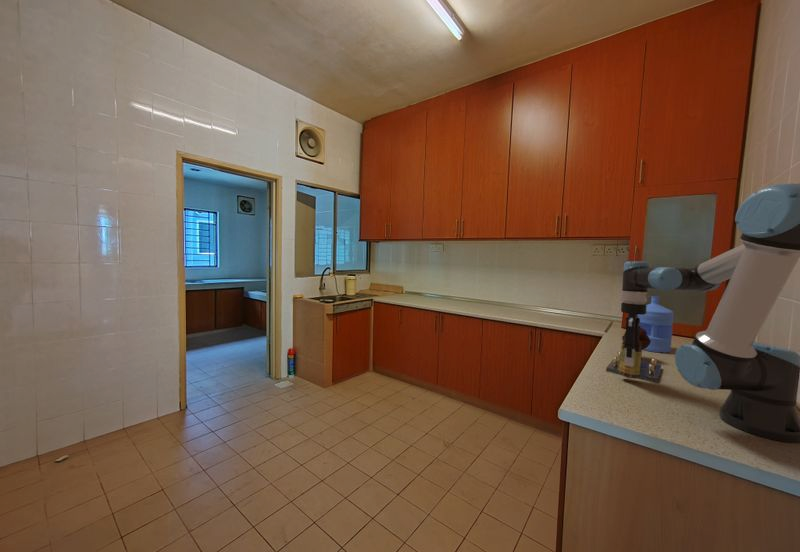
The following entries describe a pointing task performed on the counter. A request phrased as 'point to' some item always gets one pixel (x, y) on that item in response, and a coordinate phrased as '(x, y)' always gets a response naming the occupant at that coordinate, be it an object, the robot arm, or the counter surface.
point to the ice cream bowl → (642, 338)
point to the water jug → (657, 326)
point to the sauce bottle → (635, 370)
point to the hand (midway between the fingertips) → (630, 363)
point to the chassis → (646, 369)
